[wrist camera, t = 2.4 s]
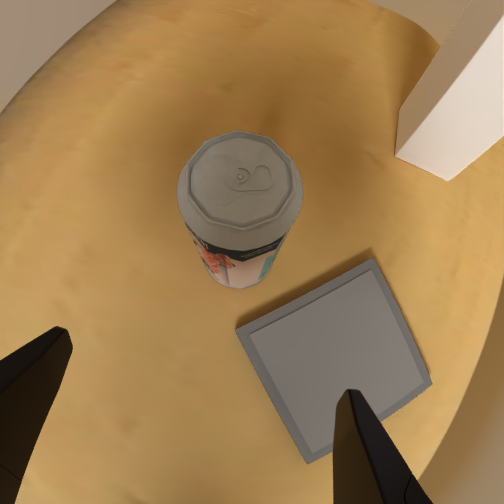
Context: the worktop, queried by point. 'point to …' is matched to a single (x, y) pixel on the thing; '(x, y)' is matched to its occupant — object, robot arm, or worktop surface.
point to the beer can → (239, 204)
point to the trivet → (335, 355)
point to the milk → (457, 96)
